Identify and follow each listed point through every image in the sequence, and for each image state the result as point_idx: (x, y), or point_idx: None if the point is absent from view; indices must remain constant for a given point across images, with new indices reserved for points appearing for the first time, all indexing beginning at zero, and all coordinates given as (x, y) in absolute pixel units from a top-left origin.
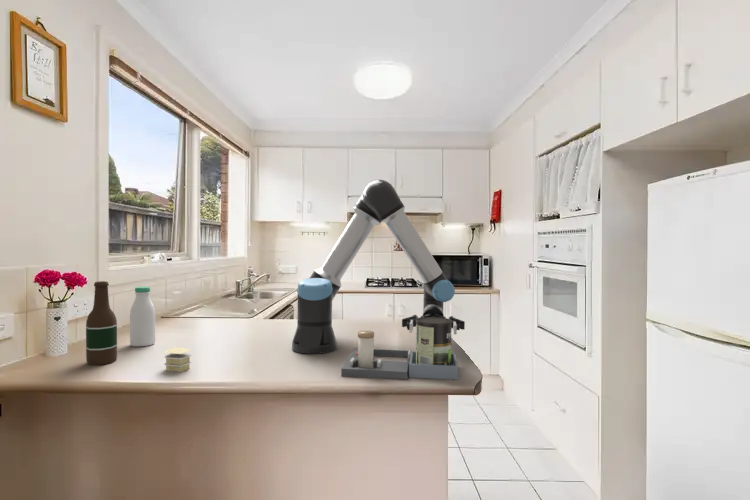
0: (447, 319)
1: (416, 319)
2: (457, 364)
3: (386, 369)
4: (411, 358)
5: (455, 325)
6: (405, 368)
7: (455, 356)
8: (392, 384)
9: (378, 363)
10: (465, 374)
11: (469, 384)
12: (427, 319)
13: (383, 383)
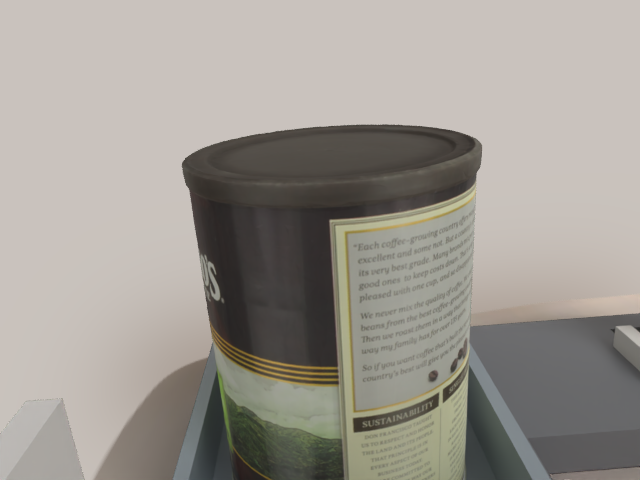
0: (210, 167)
1: (468, 136)
2: (209, 357)
3: (559, 331)
4: (481, 380)
5: (36, 406)
6: (480, 355)
7: (176, 475)
8: (485, 318)
9: (623, 329)
10: (157, 464)
11: (184, 367)
12: (387, 154)
13: (522, 318)
